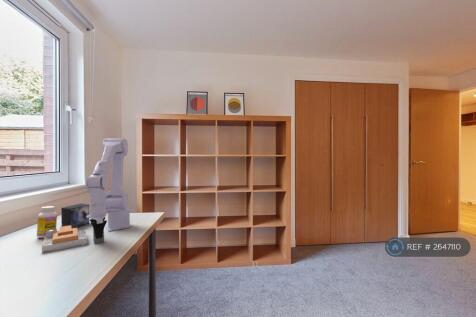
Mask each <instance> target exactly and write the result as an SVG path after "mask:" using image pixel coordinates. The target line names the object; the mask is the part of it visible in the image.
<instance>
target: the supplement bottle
mask: <svg viewBox="0 0 476 317" xmlns="http://www.w3.org/2000/svg"><path fill="white" fill-rule="evenodd" d="M40 208H41V209H40V211H41V212H40V213H38V214H37V224H36V228H37V229H36V237H37V238H38V239H44V238H45V236H46V231H47V230H50V229H57V220H58V213H57V212H56V211H55V208H56V207H55V206H54V205H47V206H42V207H40Z"/></svg>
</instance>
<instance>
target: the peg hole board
mask: <svg viewBox="0 0 476 317" xmlns="http://www.w3.org/2000/svg"><path fill="white" fill-rule="evenodd" d="M57 231H58V229H57V228H56V229H50V230H47V231H46V236H45V238H43V241H42V244H41V245H42V246H41V253H42V254H45V253H49V252H55V251H60V250H64V249H69V248H74V247H80V246H84V245H88V237H87V233H86V232H87V231H86V229H85V228H84V229H77V232H78V239H75V240H70V241H64V242H59V243H53V244H52V239H53V234H54V233H56V232H57Z"/></svg>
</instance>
